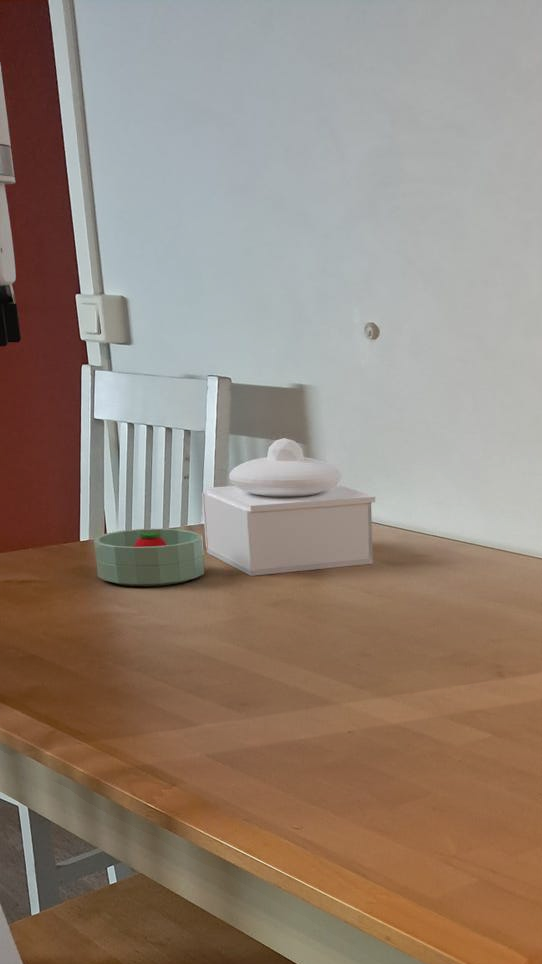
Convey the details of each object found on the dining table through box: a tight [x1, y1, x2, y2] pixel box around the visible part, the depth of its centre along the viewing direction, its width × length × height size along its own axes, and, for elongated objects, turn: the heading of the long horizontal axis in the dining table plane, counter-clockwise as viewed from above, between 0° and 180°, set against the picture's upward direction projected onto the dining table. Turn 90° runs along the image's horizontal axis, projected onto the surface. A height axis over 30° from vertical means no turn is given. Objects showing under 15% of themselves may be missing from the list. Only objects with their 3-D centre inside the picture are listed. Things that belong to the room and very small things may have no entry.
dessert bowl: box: [93, 528, 206, 587], centre depth 162 cm, size 13×13×5 cm
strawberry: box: [134, 532, 167, 547], centre depth 162 cm, size 5×5×5 cm
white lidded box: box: [201, 437, 376, 577], centre depth 172 cm, size 18×18×16 cm
